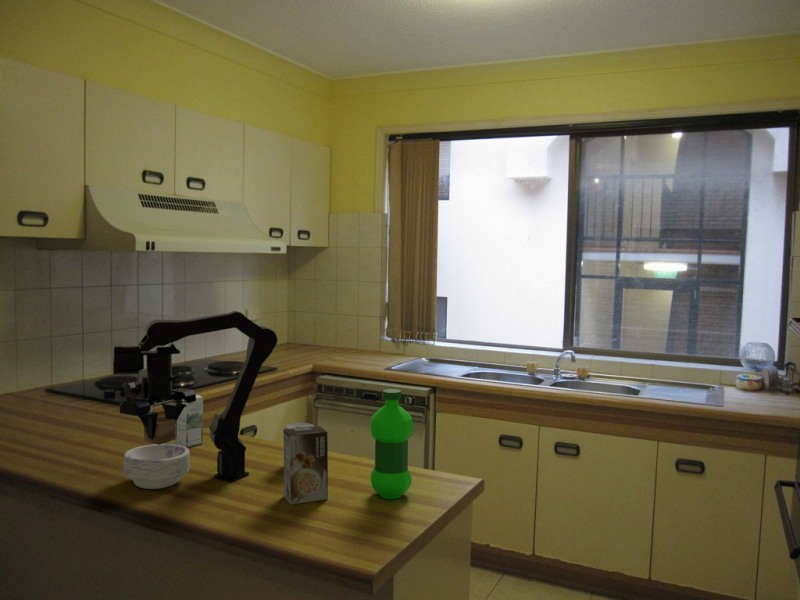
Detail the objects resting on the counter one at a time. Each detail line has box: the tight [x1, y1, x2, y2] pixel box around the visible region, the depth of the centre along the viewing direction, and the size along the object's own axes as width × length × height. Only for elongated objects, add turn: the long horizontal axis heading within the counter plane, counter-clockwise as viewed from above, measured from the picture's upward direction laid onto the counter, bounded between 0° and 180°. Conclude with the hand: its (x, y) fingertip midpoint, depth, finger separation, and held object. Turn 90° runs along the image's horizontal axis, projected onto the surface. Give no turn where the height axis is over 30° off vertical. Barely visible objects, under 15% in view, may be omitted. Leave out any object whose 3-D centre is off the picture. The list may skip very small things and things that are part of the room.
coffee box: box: [283, 425, 329, 506], centre depth 152 cm, size 9×6×16 cm
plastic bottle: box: [369, 388, 415, 500], centre depth 155 cm, size 10×10×25 cm
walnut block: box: [143, 416, 175, 445], centre depth 159 cm, size 5×5×5 cm
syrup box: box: [174, 393, 204, 448], centre depth 193 cm, size 6×6×14 cm
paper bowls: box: [123, 443, 191, 490], centre depth 161 cm, size 15×15×8 cm
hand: (159, 436), depth 159 cm, fingers closed on walnut block, 5 cm apart
